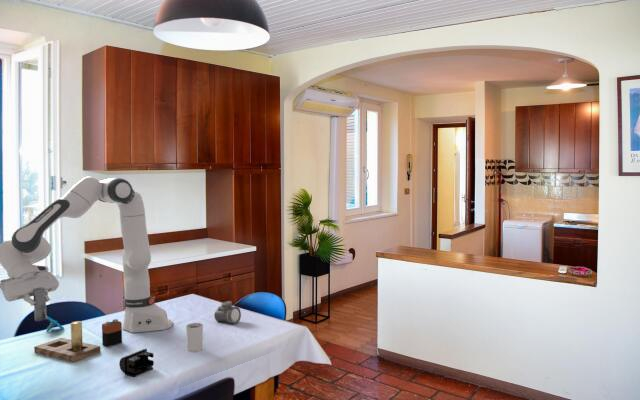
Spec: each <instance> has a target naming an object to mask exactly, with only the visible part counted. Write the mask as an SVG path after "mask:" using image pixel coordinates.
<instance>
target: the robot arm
mask: <svg viewBox="0 0 640 400" xmlns="http://www.w3.org/2000/svg"><path fill="white" fill-rule="evenodd" d="M97 201H99V202H103V203H109V204H110V203H112V204H114V203H115V204H117V207H118V208H119V209H118V210H119V221H120V230H121V231H120V232H121V237H122V243H123V244H122V245H123V250H122V254H121V255H122V267H123V268H122V269H123V278H124V279H123V281H124V298H123V308H124V309H123V310H124V319H123V322H122V323H123V324H122V331H123V330H124V331H127V332H130V333H132V334H133V333H144V332H154V331H155V332H156V331H163V330H164V331H165V330H168V329H169V328H171V327H172V325H173V324H174V322H173V320H172V319H169V318H168V314H167V311H166V310H165V309H164V308H162V307H161V306H159V305H158V304H156V301H155V298H156V297H155V296H152V295H151V290H150V289H151V285H150V284H151V282H150V279H151V278H150V274H149V265H150V263H151V261H152V255H151V249H150V241H149V235H148V231H147V230H148V229H147V221H146V219H147V218H146V211H145V210H146V209H145V205H144V204H145V203H144V201H143V197H142V195H141V194H140V193H139V192H137V191H135V190H134V189H133V186H132V185H131V183H130V182H129V181H128V180H127V179H125V178H119V177H118V178H117V177H111V178H110V177H109V178H103V179H100V180H99V179H97V178H95V177H93V176H85V177H83V178H82V179H81V180H79V181H78V182H77V183H76V184H74V185H73V186H72V187H71V188H70V189H69V190H68V191H67V192H66V193H65V194H64V195H63V196H61V198H59V199H56V200H55V201H53V202H51V204H49V205H48V206H47V207H46V208H44V209H43V210H42V211H41V212H40V213H39V214H37V215H36V216H35V217H34V218H33V219H31V220H30V222H28V223H26V224H25V225H23V226H20V227H19V228H17V230H15V231H14V232H13V233H12V236H11V239H7V240H4V241H2V242H1V243H0V264H1V266H2V268H3V269H4V270H5V271H6V272H7V276H8V278H5V279H0V290H1V293H2V295H3V297H4V299H5V301H7V302H14V301H19V300H23V301H24V302H27V303H28V304H29V305H30V306H31V307H34V305H36V303H37V302H36V300H35V299H34V298H32V297H34V296H33V289H35V288H45V295H46V303H48V302H49V301H50V300H51V299H50V296H49V294H50V292H54V291H56V290H57V289H58V288H59V286H60V282H59V280H58V279H57V277H56V276H55V275H54V273H52V272H51V271H49V267H48V266H47V265H36V263H38V262H41V261H43V260H44V259H46V258H47V257H48V256H49V255H50V254H51V250H52V247H51V244H50V243H49V242H48V240H47V239H46V237H44V233H45V232H46V231H47V230H48V229H49V228H50V227H52V225H54V224H55V223H56V222H57V221H58V220H59V219H61V218H65V217H66V218H69V219H79V218H81V217H82V216H84V215H85V214H86V213H87V212H88V211H89V210H90V209H91V208H92V206H93V205H94V204H95V203H97Z"/></svg>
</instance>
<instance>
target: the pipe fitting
mask: <svg viewBox="0 0 640 400" xmlns="http://www.w3.org/2000/svg"><path fill="white" fill-rule="evenodd" d="M241 318H242V312H241V309H240V308H239V306H233V302H232V301H231V300H227V301H224V302H222V303H221V304H220V306H218V307H217V309H216V310H215V311H214V320H215V321H216V322H228V323H229V324H232V325H236V324H238V323H239V322H240V321H241Z"/></svg>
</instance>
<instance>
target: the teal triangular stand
mask: <svg viewBox="0 0 640 400" xmlns="http://www.w3.org/2000/svg"><path fill="white" fill-rule="evenodd" d="M46 320H48V321H49V322H50V323H49V325H48V326H47V327H46V331H45V332H46V333H49V332H50V330H52V329H53V328H54V327H55V326H57V327H58V328H59V329H61V330H65V327H64V326H62V325H61V324H60V323H58V320H56V319H55V320H54V319H52V318H51V317H50V316H48V315H47V319H46Z"/></svg>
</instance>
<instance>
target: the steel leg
mask: <svg viewBox="0 0 640 400" xmlns="http://www.w3.org/2000/svg"><path fill="white" fill-rule="evenodd" d="M32 297H33V299H35V300H36V302H37V303H36V305H33V312H34V313H33V314H34V321H35V322H42V321H45V320H48V319H47V316H48V315H47V302H46V295H45V288H35V289H33V296H32Z"/></svg>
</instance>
